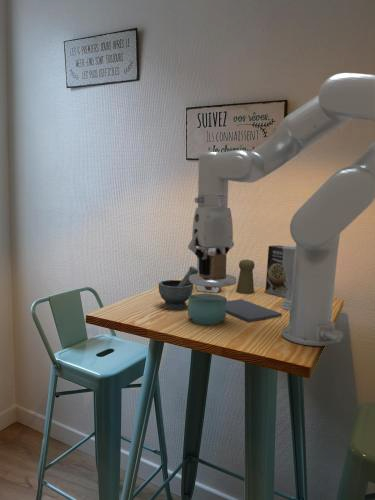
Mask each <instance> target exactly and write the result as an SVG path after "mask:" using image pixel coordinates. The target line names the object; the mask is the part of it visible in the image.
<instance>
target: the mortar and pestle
mask: <svg viewBox="0 0 375 500" xmlns="http://www.w3.org/2000/svg"><path fill="white" fill-rule="evenodd" d="M197 273H198V270H197V267H195V266H189V268H188V271H187V272H186V274H185V275H184V277H183V278H182V279H180V280H179V279H167V280H161V281H160V282H158V293H159V295H160V297H161V299H163V301H164V305H163V307H164V308H166V309H168V310H174V311H175V310H176V311H177V310H179V311H180V310H184V309H185V308H186V306H187V303H186V301H188V297H189V296H191V295H193V290H194V284H191V283H190V282H189V276H190V275H193V274H197Z"/></svg>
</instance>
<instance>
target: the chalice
mask: <svg viewBox="0 0 375 500" xmlns="http://www.w3.org/2000/svg"><path fill="white" fill-rule="evenodd" d="M283 246H284V247H282V249H283V263H282V264H283V268H284V271H285V274H286V276H287V278H289V279H290V283H289V285H288V286H289V291H288V293H289V296H288V298H285V299H284V300H283V302H282V304H281V306H280V308H281V309H283V310H284V309H285V310H288V311H290V304H291V291H292V278H293V266H294V255H295V248H296V246H293V245H292V246H291V245H289V246H288V245H283Z"/></svg>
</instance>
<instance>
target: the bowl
mask: <svg viewBox="0 0 375 500" xmlns="http://www.w3.org/2000/svg"><path fill="white" fill-rule="evenodd" d="M187 301H188V302H187V316H188V317H189V318H191V320H192V322H193V321H194V322H193V323H195V324H197V323H198V325H204V326H213V325H214V324H216V325H218V324H221V323H222V320H224V319H225V318H226V317H227V313H226V306H227V301H228V299H227V297H225V296H222V295H220V294H216V293H214V294H213V293H196V294H195V293H194V294H191V296H189V297H188V300H187ZM220 322H221V323H220Z"/></svg>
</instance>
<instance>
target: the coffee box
mask: <svg viewBox="0 0 375 500" xmlns="http://www.w3.org/2000/svg"><path fill="white" fill-rule="evenodd" d="M284 246H285V245H268V249H267V250H268V252H267V266H266V267H267V268H266V275H265V276H266V279H265V292H266V293H265V294H269V293H270V294H269V295H273V296H276V295H277V297H281V298H285V299H288V296H289V293H288V291H289V286H288V285H289V283H290V279H289V278H287V276H286V274H285V271H284V268H283V264H282V263H283V249H282V247H284Z"/></svg>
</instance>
